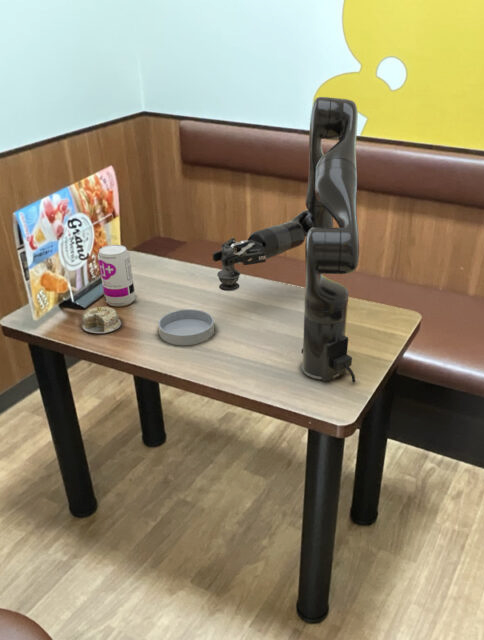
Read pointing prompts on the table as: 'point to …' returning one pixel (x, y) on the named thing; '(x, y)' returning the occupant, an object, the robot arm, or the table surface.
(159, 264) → the table surface
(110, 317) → the cake
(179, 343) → the tin
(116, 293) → the supplement can
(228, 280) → the dark grey chess piece
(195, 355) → the table surface
